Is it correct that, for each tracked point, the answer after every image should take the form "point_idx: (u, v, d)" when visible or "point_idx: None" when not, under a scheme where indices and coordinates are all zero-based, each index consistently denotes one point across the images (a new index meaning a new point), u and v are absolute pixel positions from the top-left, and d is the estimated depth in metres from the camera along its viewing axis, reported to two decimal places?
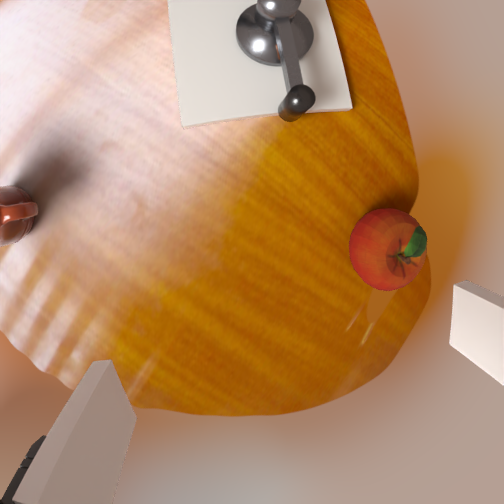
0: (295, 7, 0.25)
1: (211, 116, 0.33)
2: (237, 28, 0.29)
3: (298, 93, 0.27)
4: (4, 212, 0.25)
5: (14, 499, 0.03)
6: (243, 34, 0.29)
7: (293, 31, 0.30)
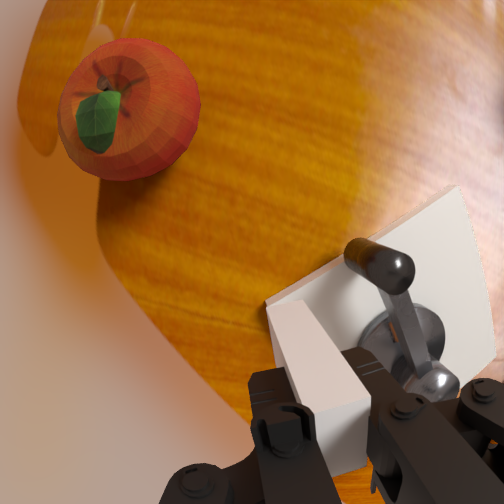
0: None
1: (436, 208, 0.24)
2: (444, 333, 0.24)
3: (404, 276, 0.17)
4: None
5: None
6: (437, 329, 0.24)
7: (385, 366, 0.24)
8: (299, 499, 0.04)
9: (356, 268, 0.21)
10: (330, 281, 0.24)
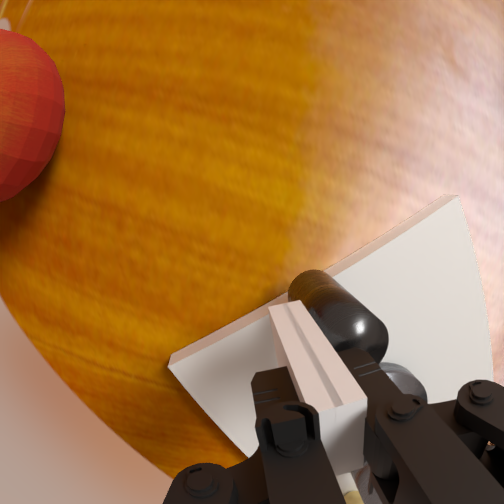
0: (377, 495, 0.12)
1: (424, 230, 0.16)
2: None
3: None
4: None
5: None
6: None
7: None
8: (303, 498, 0.04)
9: None
10: (254, 338, 0.17)
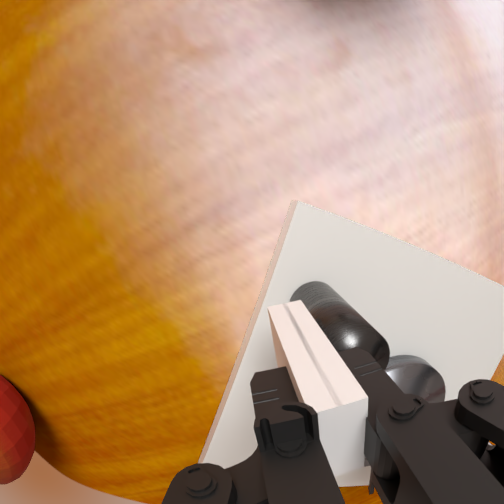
0: None
1: (287, 269, 0.16)
2: (443, 387, 0.17)
3: None
4: None
5: None
6: (434, 385, 0.17)
7: None
8: (302, 498, 0.04)
9: None
10: (227, 434, 0.18)
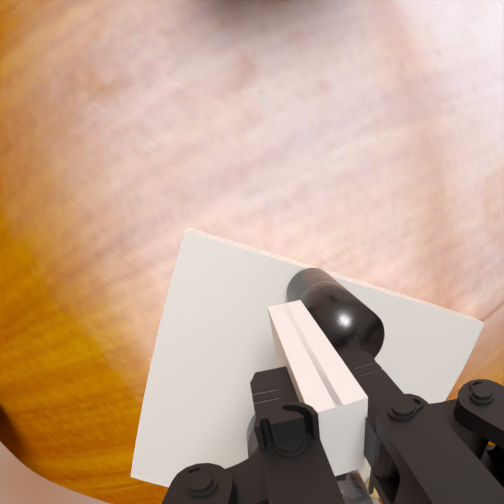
0: None
1: (178, 296, 0.16)
2: None
3: None
4: None
5: None
6: None
7: None
8: (302, 498, 0.04)
9: None
10: (148, 442, 0.18)
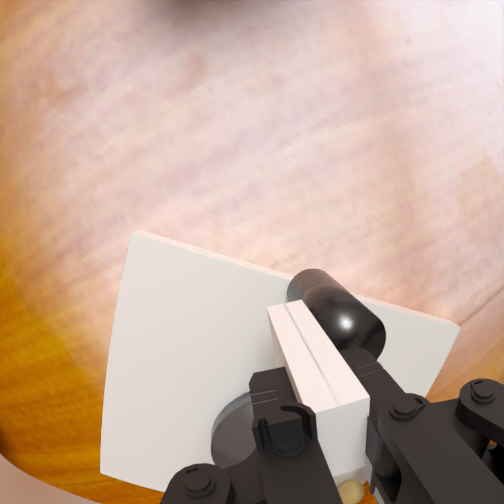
0: None
1: (128, 297, 0.16)
2: None
3: None
4: None
5: None
6: None
7: (250, 446, 0.17)
8: (300, 499, 0.04)
9: None
10: (112, 439, 0.18)
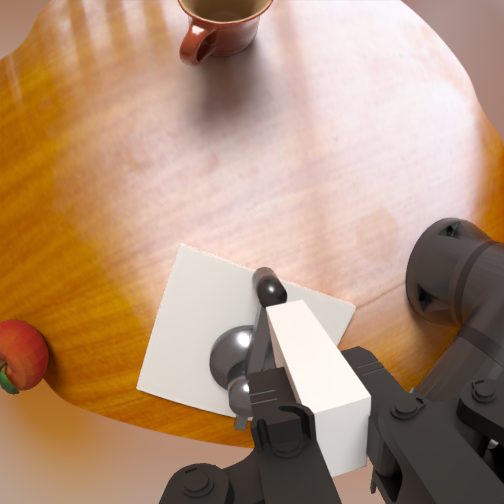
0: (240, 389, 0.30)
1: (175, 276, 0.34)
2: None
3: (276, 301, 0.29)
4: (198, 32, 0.22)
5: None
6: None
7: (230, 360, 0.35)
8: (299, 499, 0.04)
9: (255, 281, 0.32)
10: (150, 360, 0.36)
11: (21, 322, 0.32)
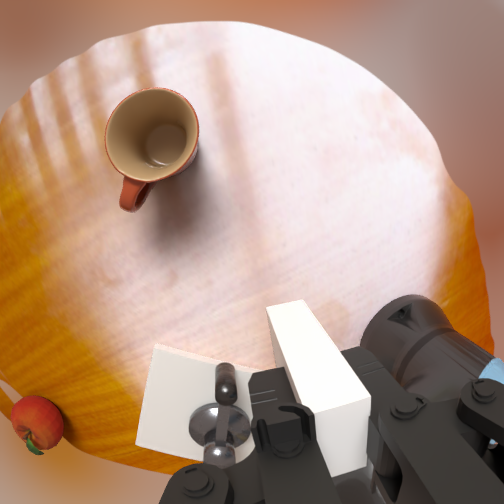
0: (210, 455, 0.35)
1: (153, 369, 0.39)
2: (249, 434, 0.41)
3: (228, 400, 0.34)
4: (131, 190, 0.27)
5: None
6: (246, 430, 0.41)
7: (205, 428, 0.40)
8: (299, 499, 0.04)
9: (215, 378, 0.37)
10: (144, 426, 0.41)
11: (37, 399, 0.37)
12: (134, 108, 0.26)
